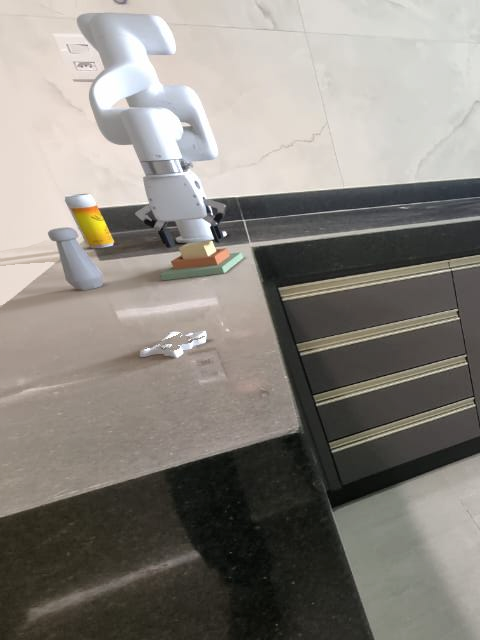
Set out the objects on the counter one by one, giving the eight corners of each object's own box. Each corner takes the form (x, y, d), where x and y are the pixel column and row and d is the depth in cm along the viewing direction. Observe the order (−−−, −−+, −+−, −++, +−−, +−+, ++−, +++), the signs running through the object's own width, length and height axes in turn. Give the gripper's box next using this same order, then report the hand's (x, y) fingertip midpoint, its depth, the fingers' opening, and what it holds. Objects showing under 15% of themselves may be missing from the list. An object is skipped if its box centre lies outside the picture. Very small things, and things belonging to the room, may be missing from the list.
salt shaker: (85, 291, 114) (53, 231, 108) (64, 291, 115) (32, 231, 110) (114, 283, 119) (85, 225, 114) (94, 283, 120) (65, 225, 115)
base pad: (188, 264, 133) (182, 250, 132) (243, 258, 137) (238, 244, 136) (162, 280, 120) (155, 265, 118) (224, 273, 123) (218, 258, 122)
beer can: (118, 245, 160) (94, 193, 153) (92, 249, 155) (66, 197, 149) (111, 243, 163) (87, 193, 156) (85, 247, 158) (59, 196, 152)
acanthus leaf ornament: (176, 339, 86) (172, 328, 85) (216, 338, 86) (211, 328, 85) (134, 358, 79) (128, 347, 78) (176, 358, 79) (171, 346, 78)
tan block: (195, 261, 130) (187, 242, 128) (219, 258, 131) (212, 240, 129) (186, 266, 125) (178, 247, 123) (211, 264, 126) (203, 245, 124)
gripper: (215, 164, 124) (242, 236, 132) (125, 170, 119) (158, 245, 127) (205, 167, 118) (233, 243, 126) (109, 173, 113) (144, 252, 120)
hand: (195, 244), depth 126 cm, fingers open, 9 cm apart
